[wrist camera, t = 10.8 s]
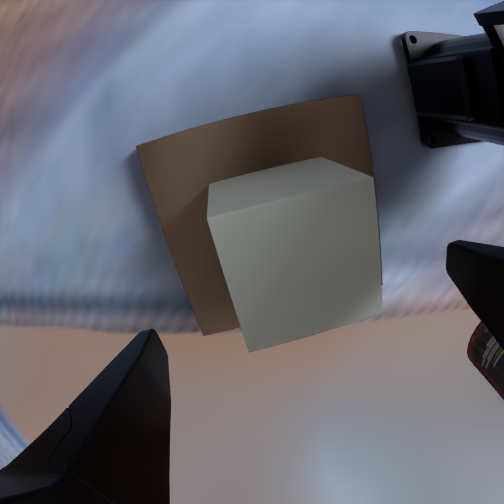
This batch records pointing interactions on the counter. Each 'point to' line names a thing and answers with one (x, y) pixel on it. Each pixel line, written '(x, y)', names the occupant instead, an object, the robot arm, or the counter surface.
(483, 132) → the robot arm
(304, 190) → the cube
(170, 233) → the brown square tile
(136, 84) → the counter surface
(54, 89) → the counter surface
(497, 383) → the supplement bottle
